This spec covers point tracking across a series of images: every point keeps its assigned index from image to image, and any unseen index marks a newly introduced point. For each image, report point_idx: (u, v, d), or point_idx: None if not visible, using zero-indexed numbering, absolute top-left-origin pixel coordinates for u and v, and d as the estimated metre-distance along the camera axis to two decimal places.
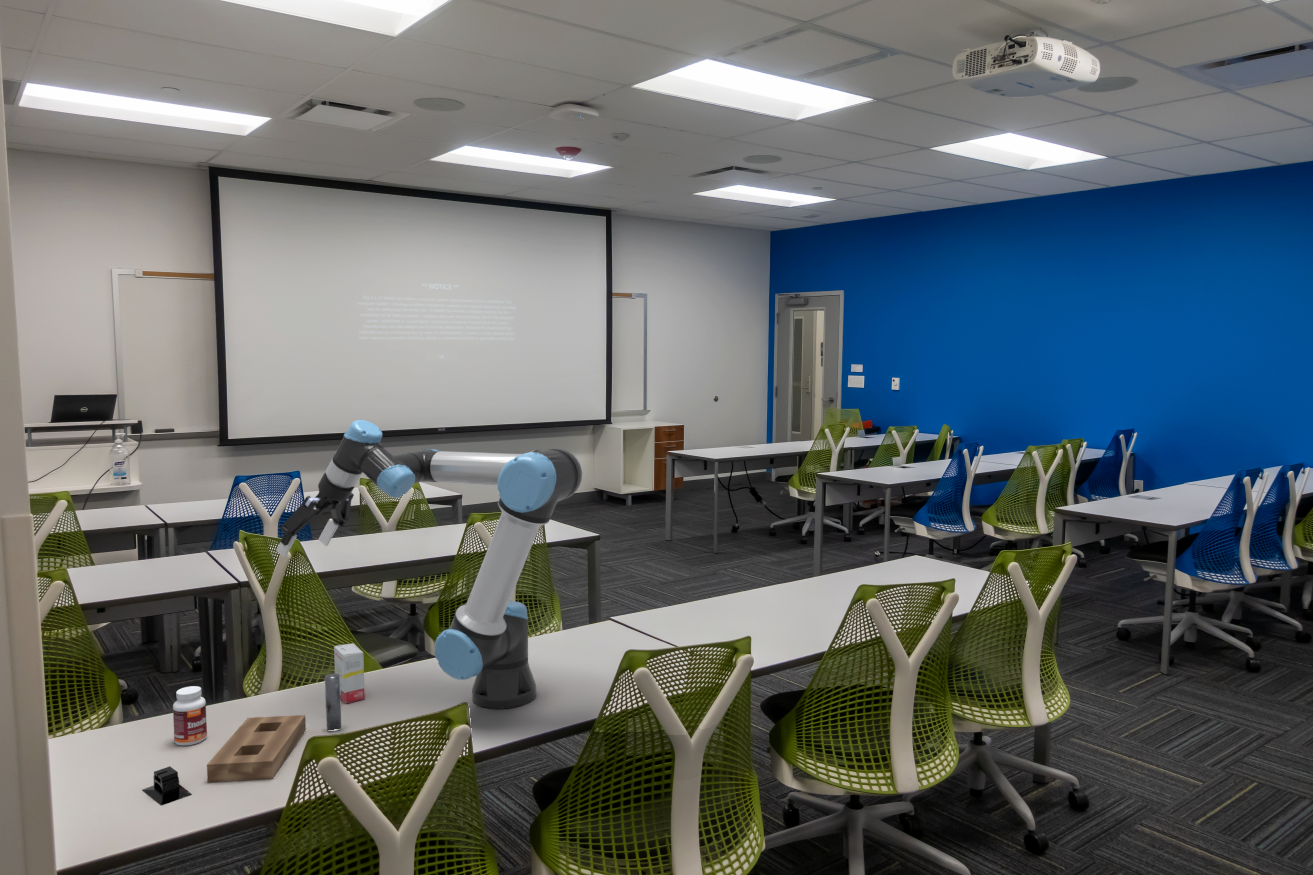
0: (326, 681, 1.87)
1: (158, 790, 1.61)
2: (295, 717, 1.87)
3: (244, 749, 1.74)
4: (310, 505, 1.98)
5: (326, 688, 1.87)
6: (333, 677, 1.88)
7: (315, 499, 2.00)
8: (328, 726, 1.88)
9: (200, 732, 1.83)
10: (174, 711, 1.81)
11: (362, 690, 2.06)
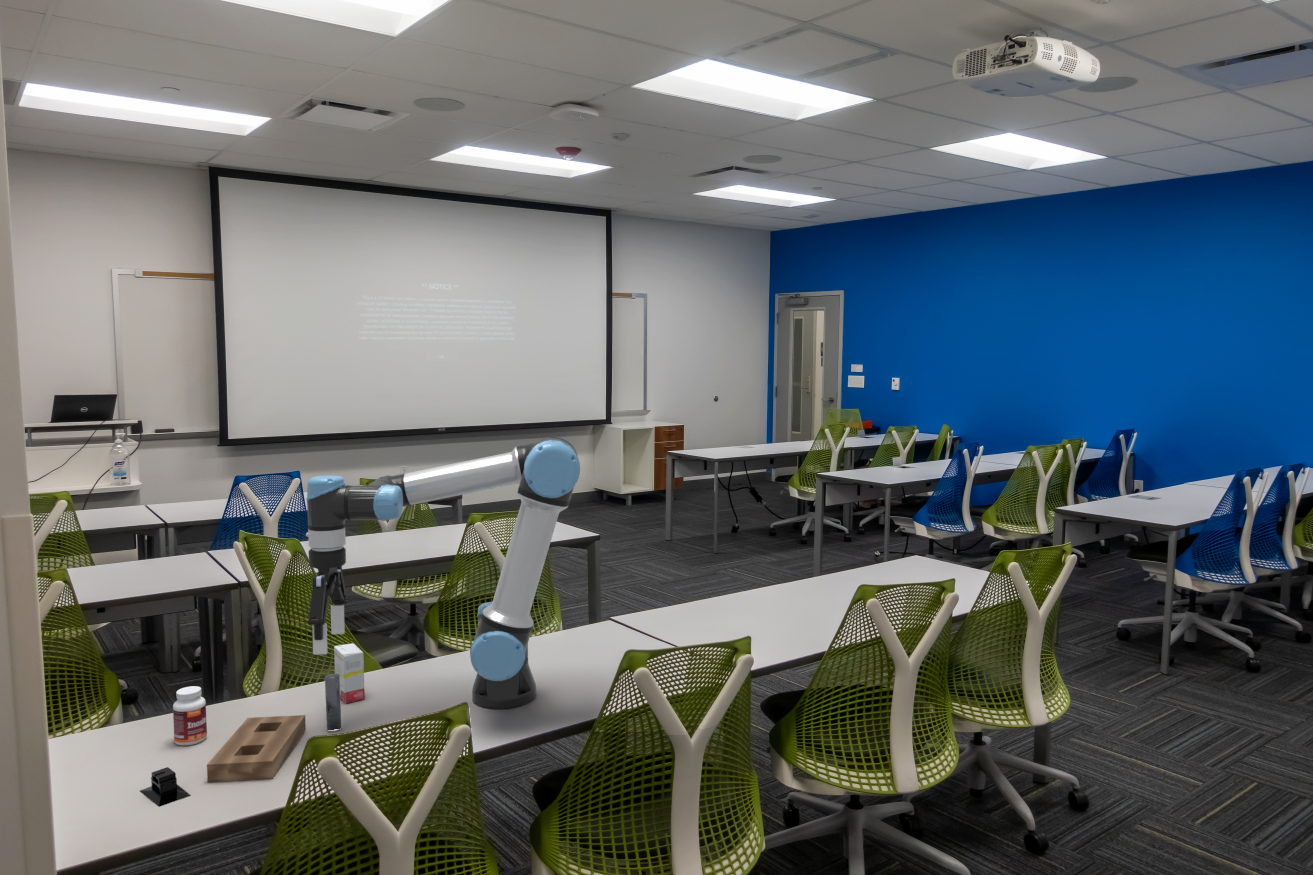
0: (326, 681, 1.87)
1: (156, 791, 1.61)
2: (295, 717, 1.87)
3: (244, 749, 1.74)
4: (322, 582, 1.80)
5: (326, 688, 1.87)
6: (333, 677, 1.88)
7: None
8: (328, 726, 1.88)
9: (200, 732, 1.83)
10: (174, 711, 1.81)
11: (362, 690, 2.06)
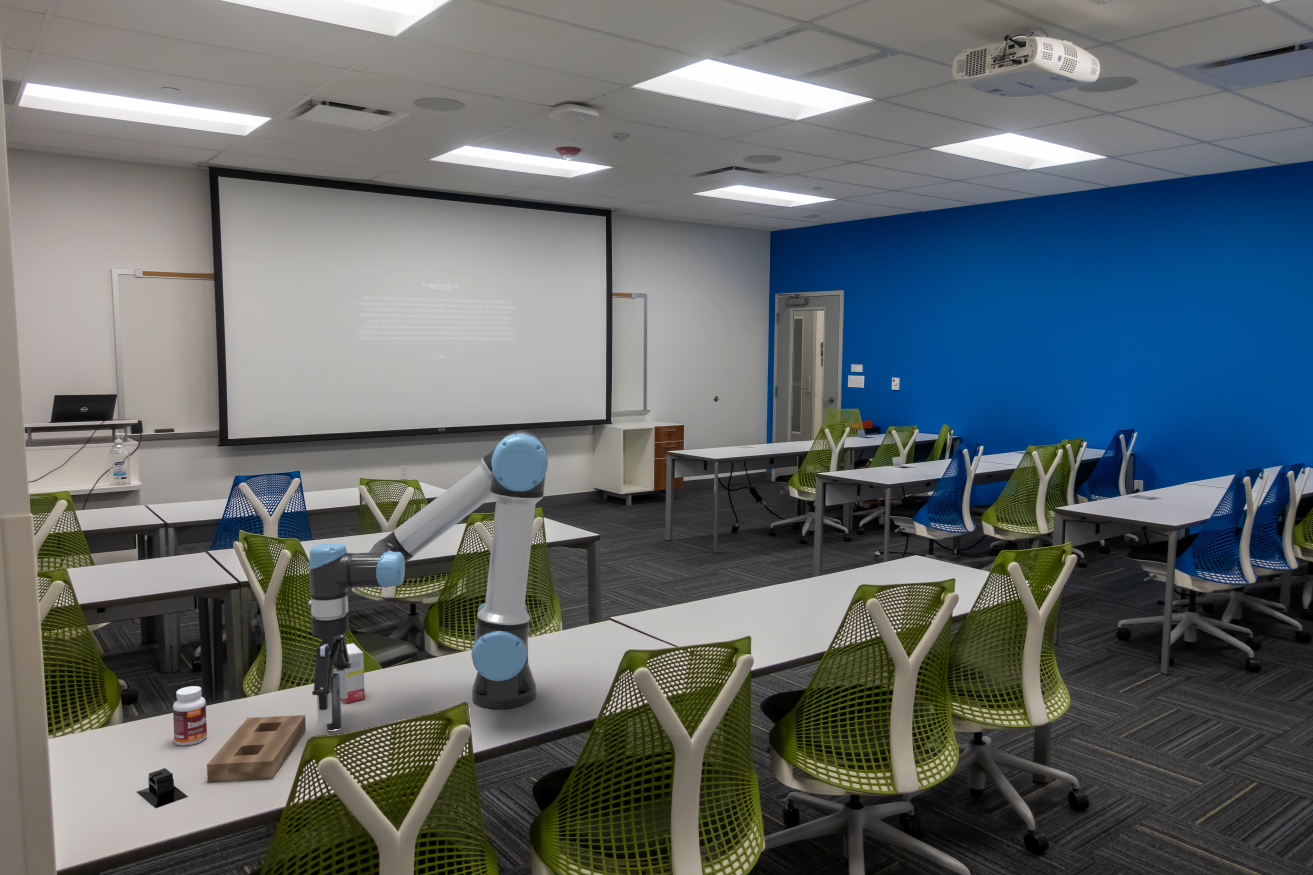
0: None
1: (153, 792, 1.61)
2: (295, 717, 1.87)
3: (244, 749, 1.74)
4: (326, 652, 1.81)
5: None
6: (333, 677, 1.88)
7: (325, 645, 1.83)
8: (328, 726, 1.88)
9: (200, 732, 1.83)
10: (174, 711, 1.81)
11: (362, 690, 2.06)
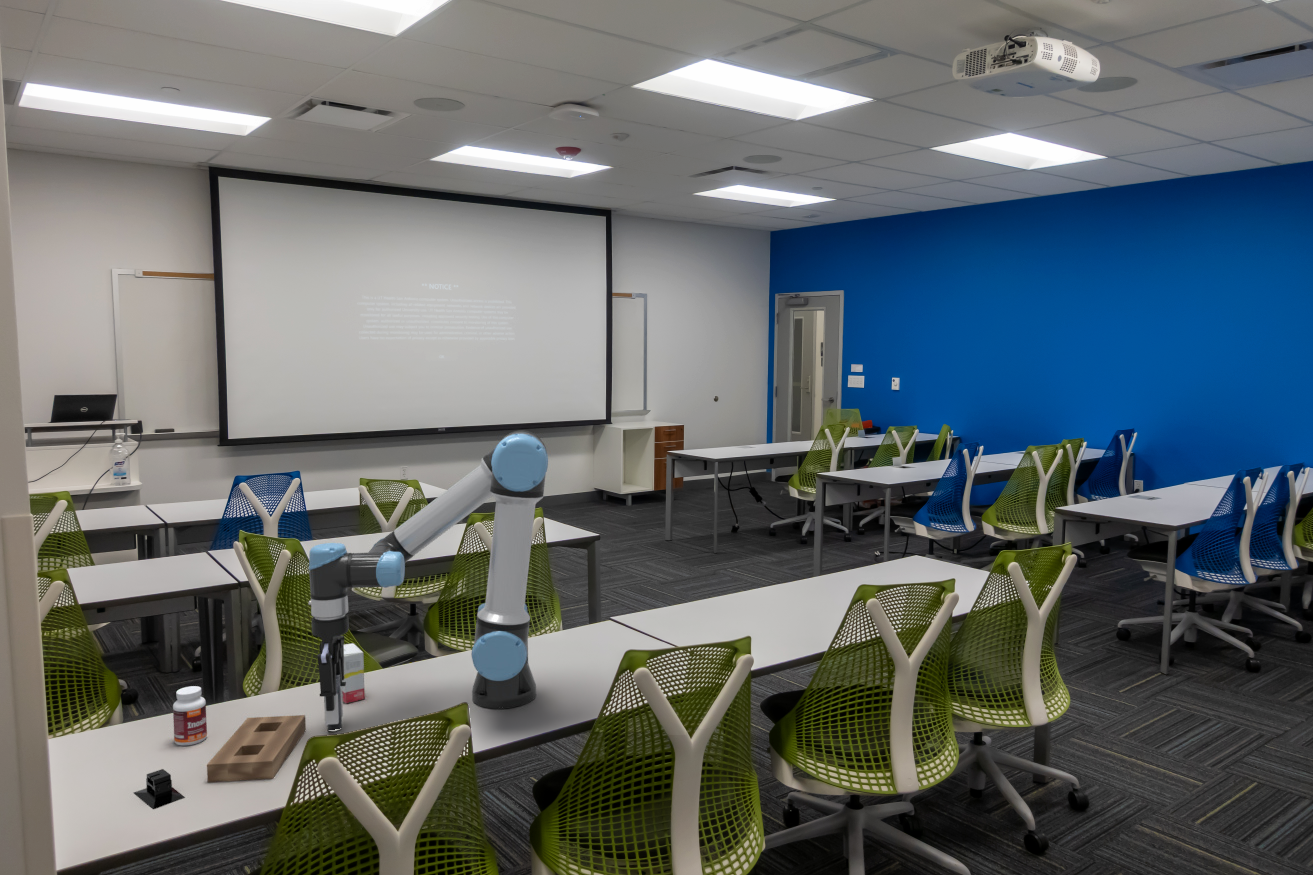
0: None
1: (151, 793, 1.60)
2: (295, 717, 1.87)
3: (244, 749, 1.74)
4: (328, 660, 1.82)
5: None
6: None
7: (325, 651, 1.83)
8: (329, 726, 1.88)
9: (200, 732, 1.83)
10: (174, 711, 1.81)
11: (362, 690, 2.06)
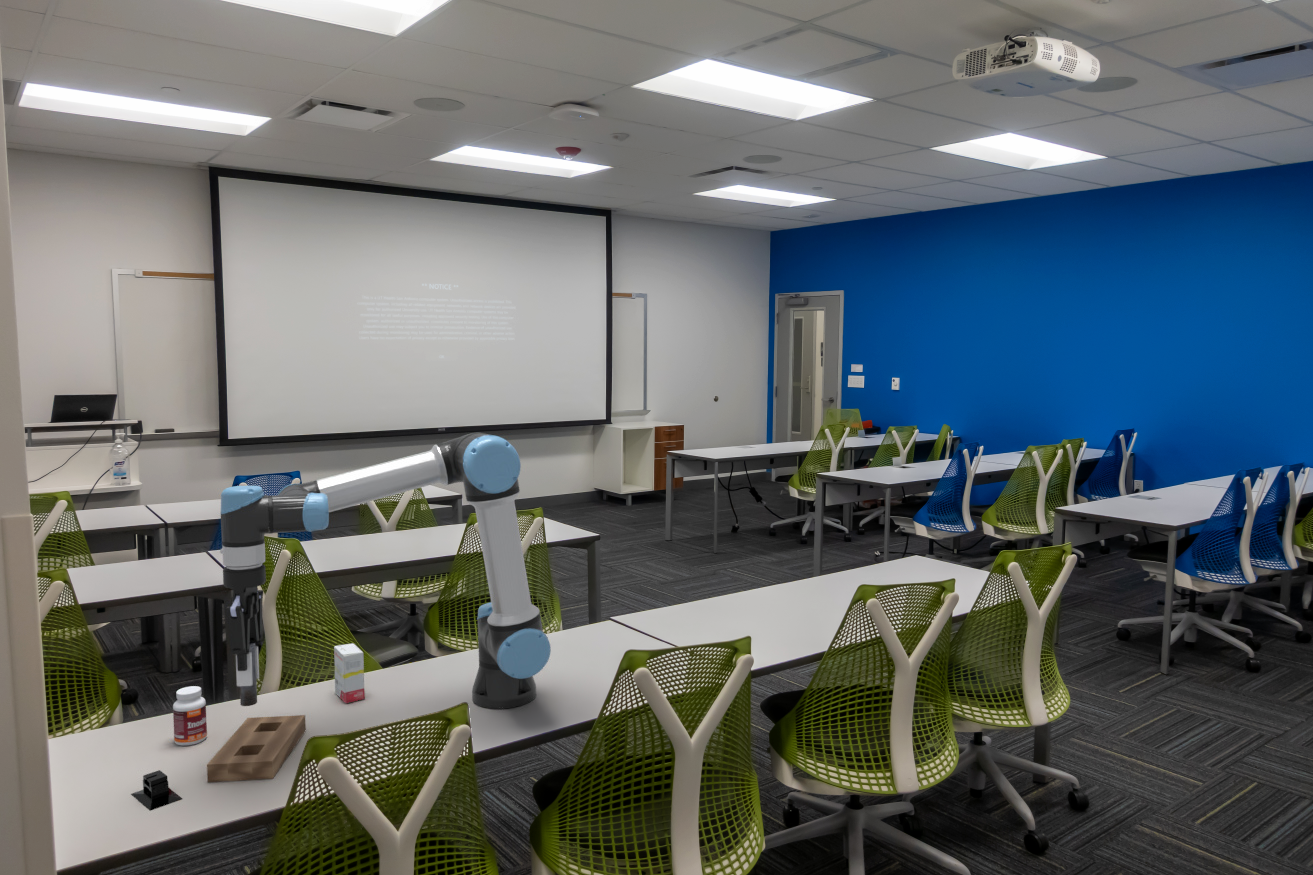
0: None
1: (147, 794, 1.60)
2: (295, 717, 1.87)
3: (244, 749, 1.74)
4: (238, 613, 1.64)
5: None
6: None
7: (236, 603, 1.64)
8: (241, 700, 1.70)
9: (200, 732, 1.83)
10: (174, 711, 1.81)
11: (362, 690, 2.06)
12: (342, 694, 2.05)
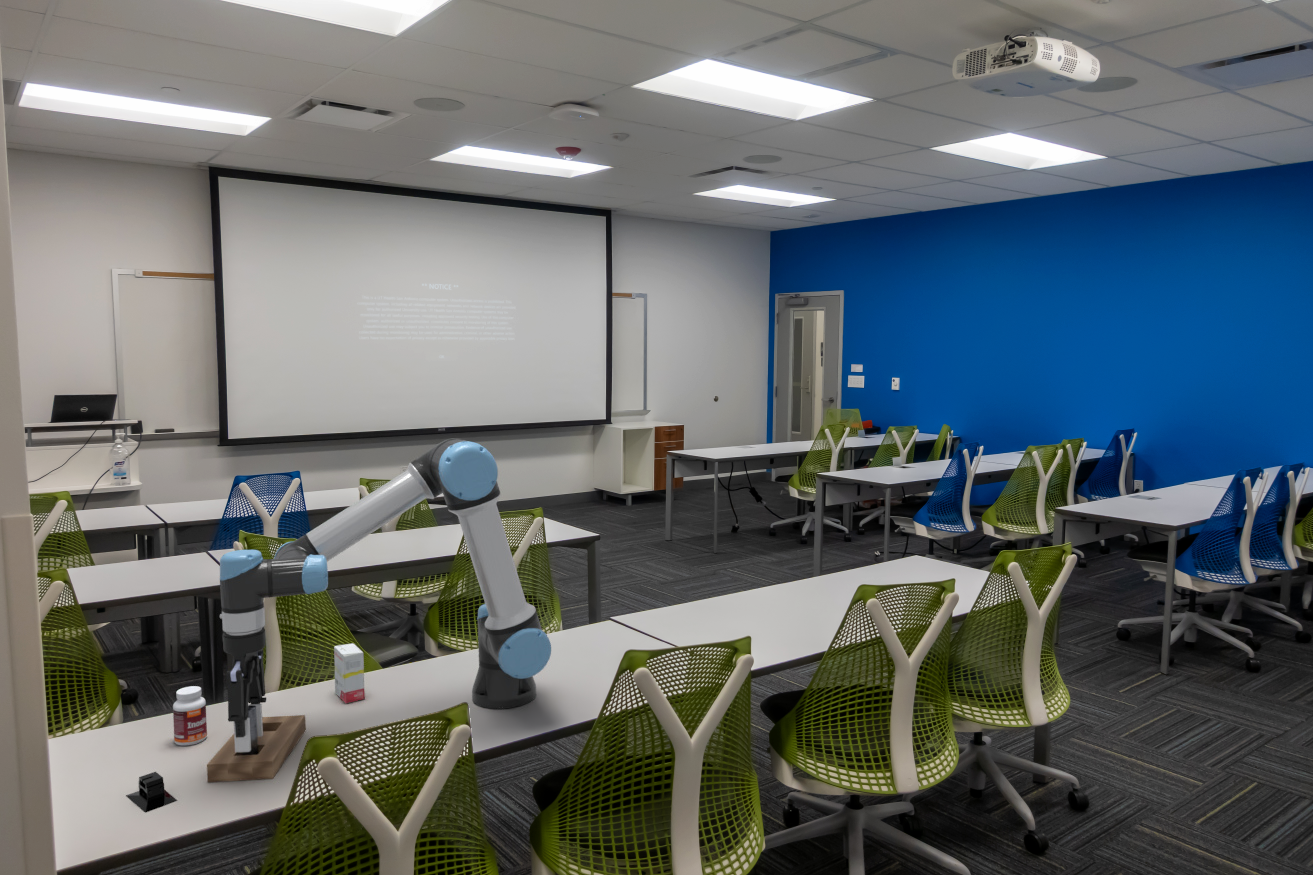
0: None
1: (143, 796, 1.59)
2: (295, 717, 1.87)
3: None
4: (238, 677, 1.64)
5: None
6: (249, 709, 1.70)
7: (236, 668, 1.65)
8: None
9: (200, 732, 1.83)
10: (174, 711, 1.81)
11: (362, 690, 2.06)
12: (342, 694, 2.05)
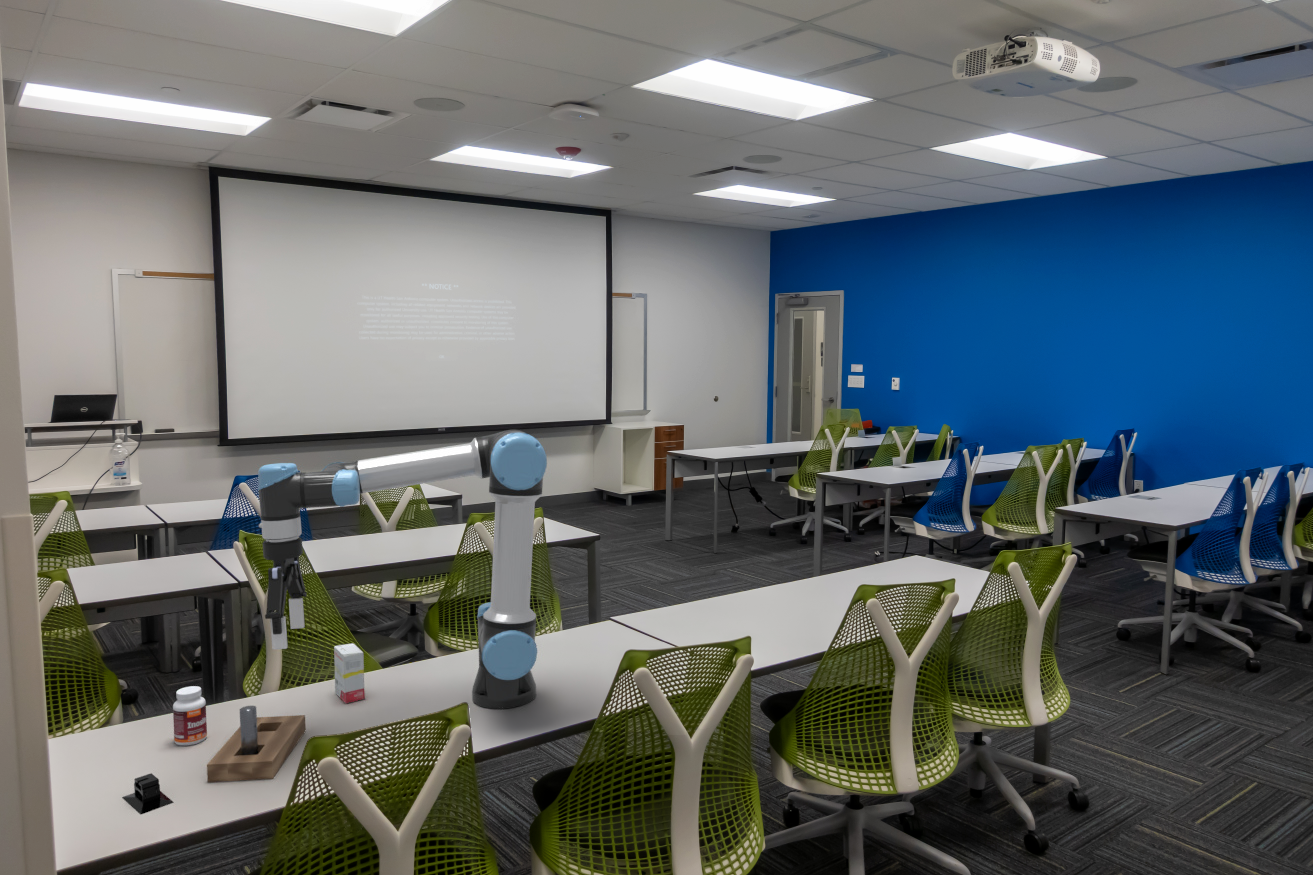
0: (241, 714, 1.70)
1: (139, 797, 1.59)
2: (295, 717, 1.87)
3: None
4: (279, 573, 1.73)
5: (241, 722, 1.70)
6: (249, 710, 1.70)
7: None
8: None
9: (200, 732, 1.83)
10: (174, 711, 1.81)
11: (362, 690, 2.06)
12: (342, 694, 2.05)
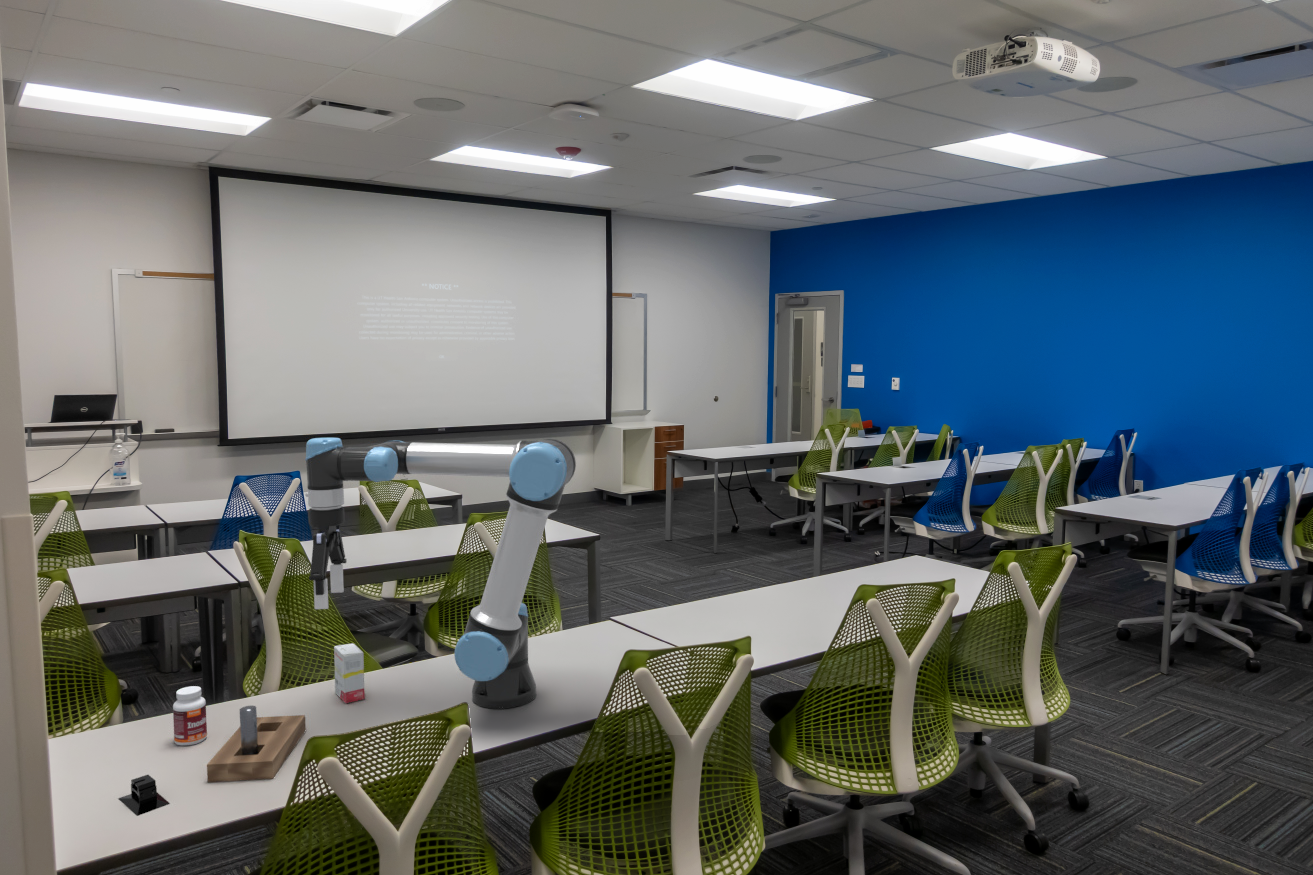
0: (241, 714, 1.70)
1: (135, 799, 1.58)
2: (295, 717, 1.87)
3: None
4: (323, 539, 1.87)
5: (241, 722, 1.70)
6: (249, 710, 1.70)
7: None
8: None
9: (200, 732, 1.83)
10: (174, 711, 1.81)
11: (362, 690, 2.06)
12: (342, 694, 2.05)
